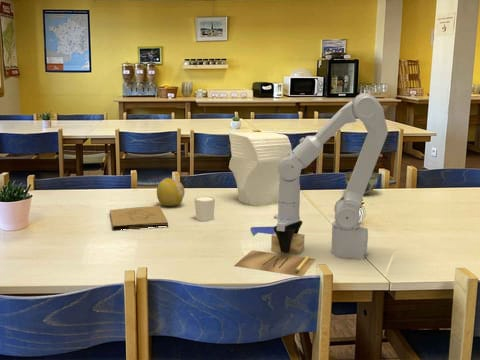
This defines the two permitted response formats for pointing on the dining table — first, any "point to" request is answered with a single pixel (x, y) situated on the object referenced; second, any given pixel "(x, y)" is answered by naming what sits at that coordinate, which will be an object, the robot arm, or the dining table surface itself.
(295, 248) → the block
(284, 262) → the board
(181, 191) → the fruit
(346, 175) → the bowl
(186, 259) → the dining table surface
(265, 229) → the hard drive
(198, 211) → the shot glass
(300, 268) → the pencil
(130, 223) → the box
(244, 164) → the paper stack
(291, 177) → the robot arm
